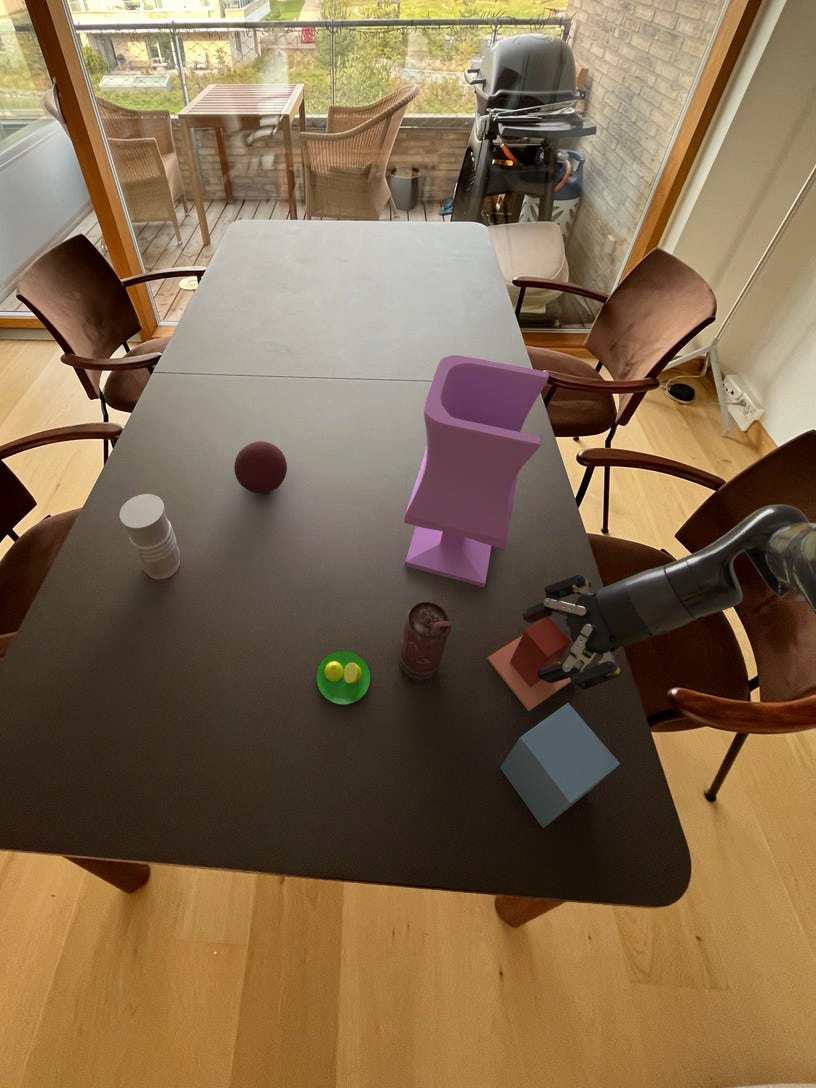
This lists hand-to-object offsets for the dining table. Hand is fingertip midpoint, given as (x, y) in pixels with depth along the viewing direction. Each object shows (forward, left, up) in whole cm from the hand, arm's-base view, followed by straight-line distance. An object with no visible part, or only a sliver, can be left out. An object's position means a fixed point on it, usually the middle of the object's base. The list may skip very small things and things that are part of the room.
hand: (532, 646), depth 81 cm
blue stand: (-13, +8, -8) cm, 17 cm away
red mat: (-1, -1, -8) cm, 8 cm away
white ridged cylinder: (+45, +41, -8) cm, 62 cm away
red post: (-1, -1, -7) cm, 7 cm away
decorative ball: (+53, +18, -8) cm, 57 cm away
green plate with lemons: (+12, +24, -8) cm, 28 cm away
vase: (+23, -5, -8) cm, 25 cm away
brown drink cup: (+8, +13, -8) cm, 17 cm away
